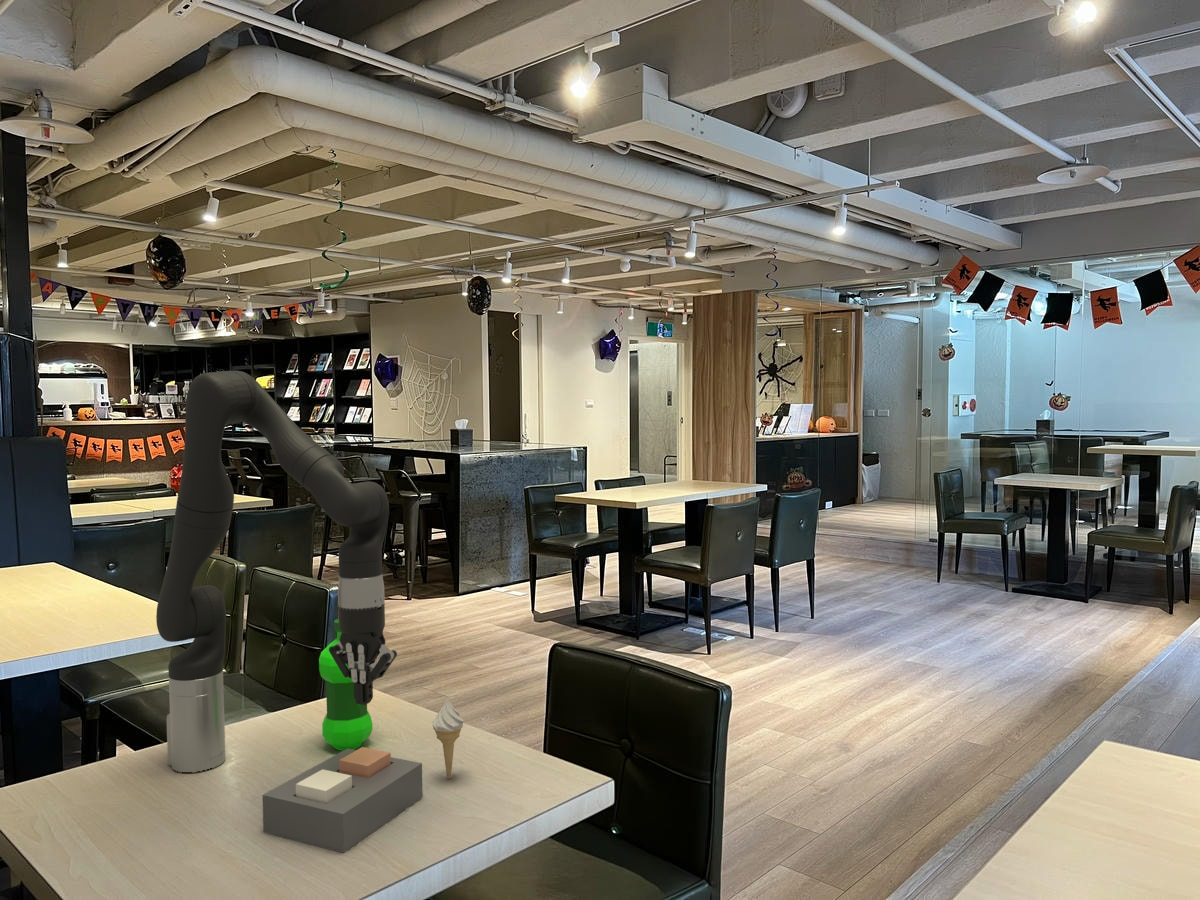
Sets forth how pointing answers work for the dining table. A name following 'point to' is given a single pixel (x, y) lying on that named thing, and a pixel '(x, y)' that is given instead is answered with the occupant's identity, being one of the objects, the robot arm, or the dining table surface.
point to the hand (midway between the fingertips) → (363, 703)
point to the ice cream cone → (448, 731)
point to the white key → (324, 786)
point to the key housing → (342, 805)
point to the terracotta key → (365, 762)
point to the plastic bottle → (342, 705)
